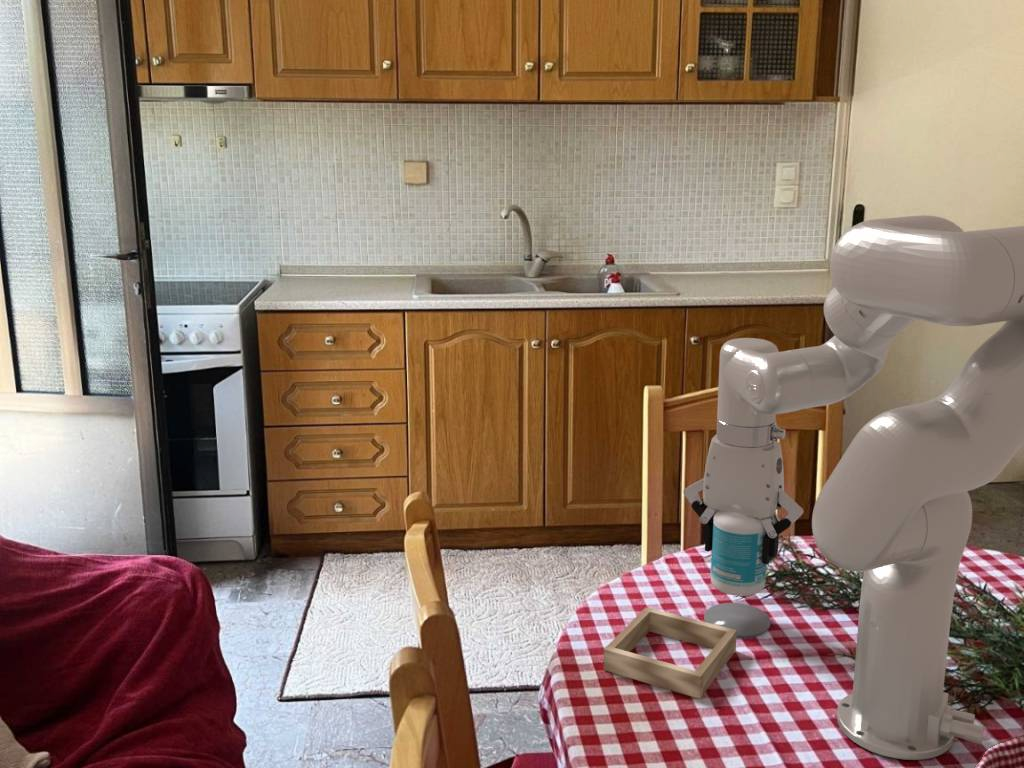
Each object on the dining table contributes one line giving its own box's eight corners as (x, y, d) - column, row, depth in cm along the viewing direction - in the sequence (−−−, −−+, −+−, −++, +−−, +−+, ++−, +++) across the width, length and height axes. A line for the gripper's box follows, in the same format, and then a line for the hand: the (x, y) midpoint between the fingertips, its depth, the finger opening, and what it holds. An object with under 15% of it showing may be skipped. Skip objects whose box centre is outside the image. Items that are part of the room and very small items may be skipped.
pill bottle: (766, 600, 134) (772, 507, 131) (709, 596, 136) (714, 503, 132) (763, 575, 141) (769, 486, 138) (710, 571, 143) (714, 483, 139)
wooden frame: (735, 650, 132) (736, 630, 131) (699, 698, 122) (700, 676, 121) (645, 626, 139) (646, 607, 138) (603, 670, 128) (603, 649, 127)
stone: (778, 616, 141) (778, 612, 141) (757, 644, 134) (758, 640, 134) (717, 601, 146) (717, 597, 146) (694, 627, 138) (694, 623, 138)
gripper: (819, 434, 131) (810, 557, 136) (694, 415, 140) (689, 531, 145) (802, 450, 125) (794, 579, 130) (673, 429, 134) (669, 550, 138)
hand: (739, 553), depth 137 cm, fingers closed on pill bottle, 7 cm apart
